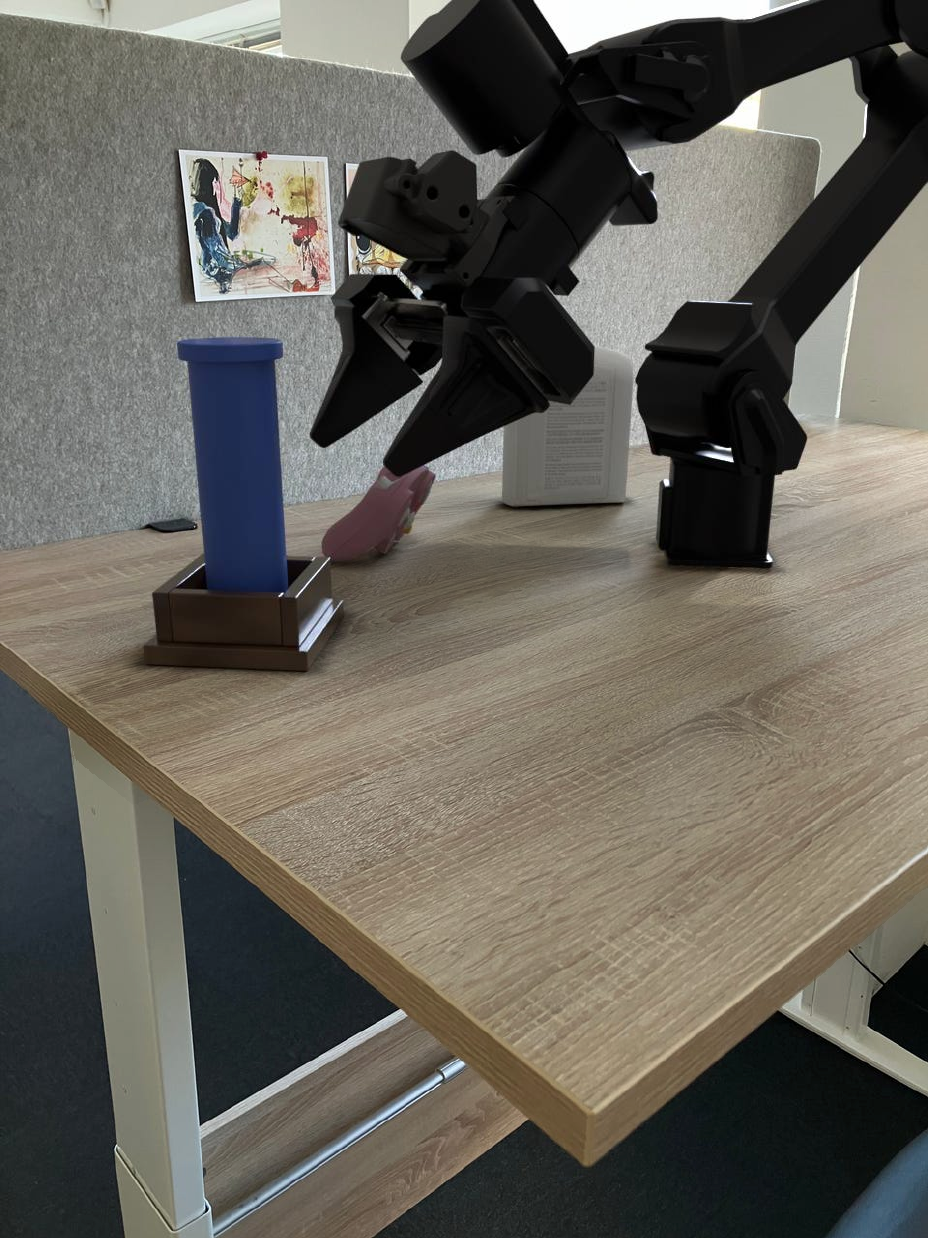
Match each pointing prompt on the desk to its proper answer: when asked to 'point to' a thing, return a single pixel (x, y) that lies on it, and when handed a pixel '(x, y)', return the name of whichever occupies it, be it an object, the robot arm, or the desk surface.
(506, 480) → the photo printer
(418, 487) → the pink shoe
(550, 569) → the desk surface
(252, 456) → the blue capped tube
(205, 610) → the holder
